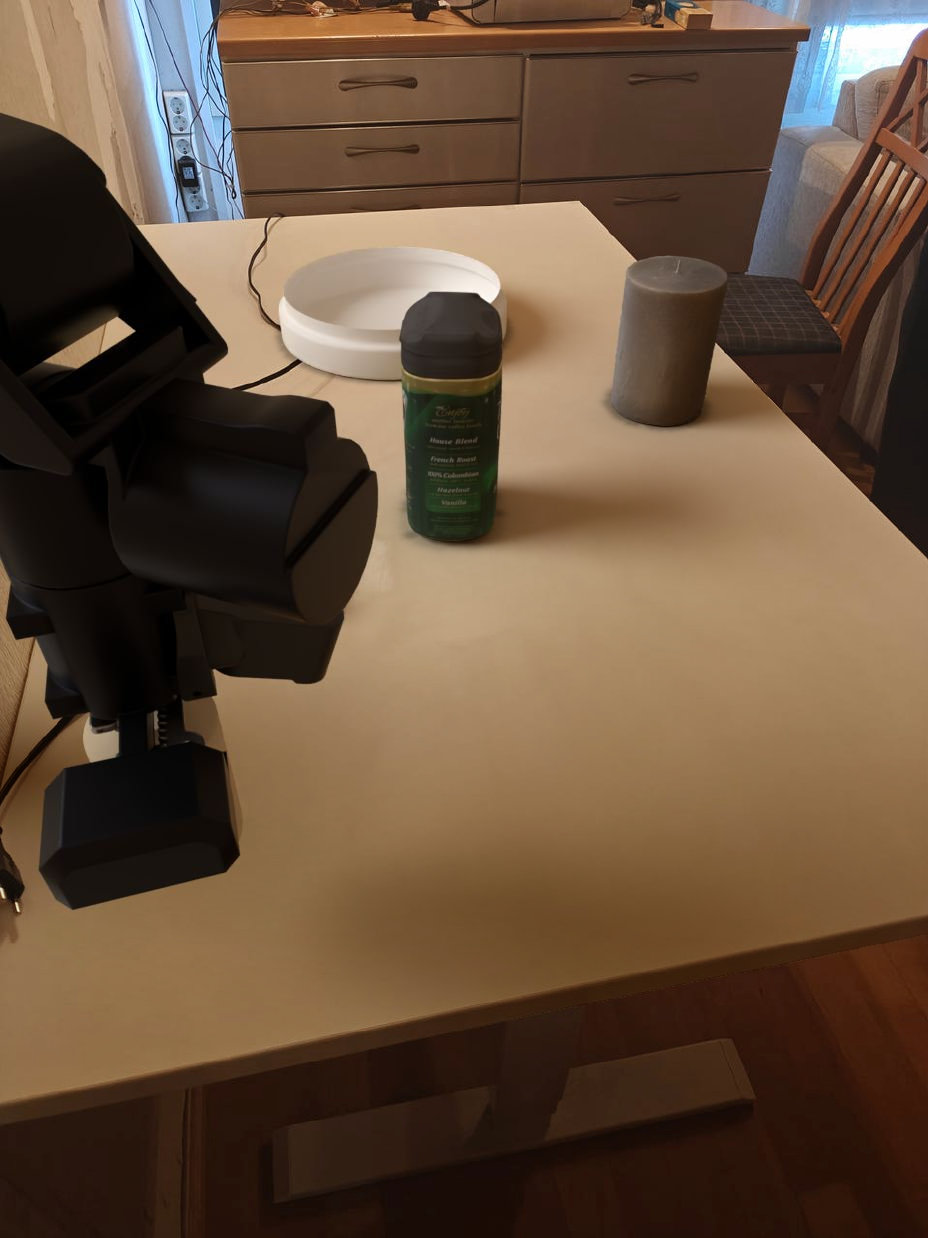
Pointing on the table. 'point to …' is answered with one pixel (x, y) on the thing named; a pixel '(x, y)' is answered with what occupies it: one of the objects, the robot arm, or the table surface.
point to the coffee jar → (451, 414)
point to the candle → (198, 719)
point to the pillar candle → (667, 338)
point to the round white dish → (371, 305)
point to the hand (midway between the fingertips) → (181, 803)
